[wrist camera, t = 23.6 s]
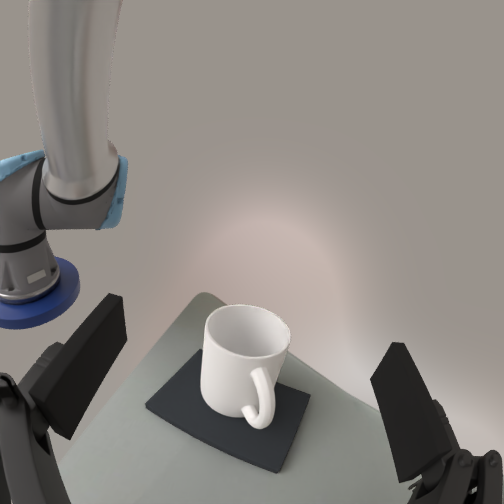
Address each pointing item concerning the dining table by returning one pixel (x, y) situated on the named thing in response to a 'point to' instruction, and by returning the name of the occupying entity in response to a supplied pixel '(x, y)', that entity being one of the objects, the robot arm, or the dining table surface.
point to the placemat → (229, 419)
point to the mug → (243, 361)
